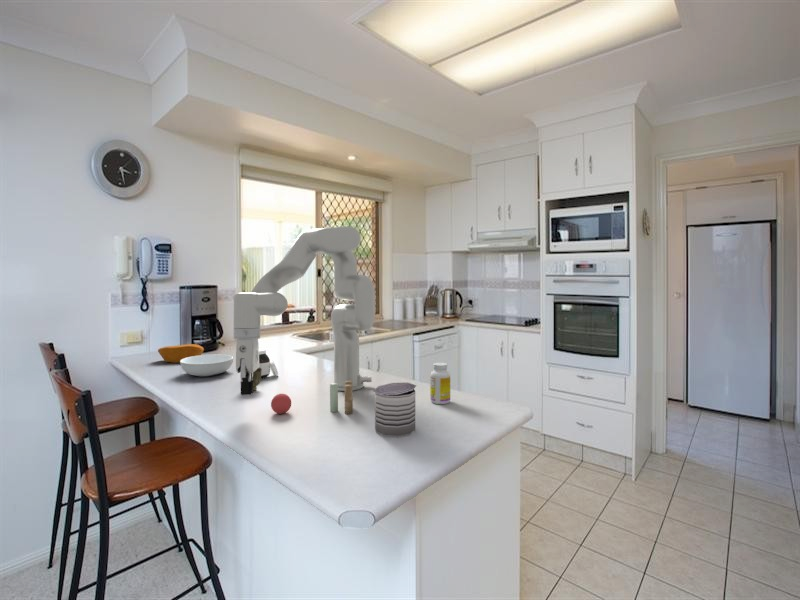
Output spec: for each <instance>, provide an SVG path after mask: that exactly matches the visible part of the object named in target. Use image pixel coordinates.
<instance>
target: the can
mask: <svg viewBox="0 0 800 600" xmlns="http://www.w3.org/2000/svg"><path fill="white" fill-rule="evenodd" d="M416 387H417V384H413V383H410V382H391V383H386V384H382V385H378V386H377V387H376V388H375V389H374V390H373V392H374V430H375V433H376V434H377V435H380V436H383V437H387V438H401V437H407V436H411V435H412V434H413V433H415V432H416V390H415V389H416Z"/></svg>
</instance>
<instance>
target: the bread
mask: <svg viewBox="0 0 800 600" xmlns="http://www.w3.org/2000/svg"><path fill="white" fill-rule="evenodd" d="M204 350H205V348H204V347H203V346H201V345H199V344H196V343H192V344H190V343H188V344H178V345H170V346H163V347H160V348H158V349H157V352H158V354H159V355H160V356H161V357H162V359H163V360H164V362H166V363H172V364H173V363H174V364H180V360H182V359H184V358H187V357H192V356H199V355H203V353H204Z"/></svg>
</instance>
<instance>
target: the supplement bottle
mask: <svg viewBox="0 0 800 600" xmlns="http://www.w3.org/2000/svg"><path fill="white" fill-rule="evenodd" d="M432 368H433V371H432V370H431V372H430V375H429V376H430V385H429V386H430V388H429V389H430V390H429V391H430V395H429V397H430V402H431V404H437V405H447V404H449V403H450V402H451V373H450V372H449V371H448V370H447V369H448V363H446V362H433V365H432Z"/></svg>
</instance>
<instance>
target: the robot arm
mask: <svg viewBox="0 0 800 600" xmlns="http://www.w3.org/2000/svg"><path fill="white" fill-rule="evenodd" d="M360 243H361V234H360V232H359V230H357V228H355V227H354V226H339V227H322V228H312V229H306V230H303V231H302V232H301V233H300V234H299V235H298V236H297V238H296V239H295V241H294V242H293V243H292V245H291V246H290V248H289V249H288V251H287V252H286V253H285V255H284V257H283V258H282V260H280V262H278V263H277V264H276V265H275V266H274V267H272V268H271V269H270V270H269V271H267V272H266V273H265V274H264V275H263V276H262V277H261V278H260V279H259V280H258V282H257V283H255V286H254V287H253V289H251V291H250V292H236V293H235V294H234V296H233V339H234V340H236V346H235V371H236V373H238V374H240V375H239V376H240V377H239V378H240V395H241V396H250V395H252V394H253V393H254V391H253V372H254V371H255V370H257V369H258V368H259V349H260V347H259V339H261V316H268V317H278V316H280V315H282V314H283V313H285V312H286V311H287V308H288V299H287V298H286V297H285V295H284V294H282V293H281V292H279V291H280V290H281V289H282V288H284V287H285V286H287V285H289V284H291V283H294V282H296V281H298V280H300V279H301V278H303V277H304V275H305V274H306V272H307V271H308V269H309V267H310V266H311V265H312V264H313V262H314V260H315V259H316V257H317V256H318V255H325V254H327V255H329V256H330V258H331V260H332V261H333V269H334V272H333V273H334V279H333V280H334V281H333V282H334V294H335V297H336V298H338V300H342V301H348V302H349V301H351V302H352V301H353V302H354V303H353V304H352V303H351V304H350V303H342V304H338V305H336V306H335V307H334V308H333V309H332V311H331V315H330V320H331V326H332V330H333V363H334V364H333V367H334V368H333V369H334V370H333V371H334V372H333V374H334V375H333V377H334V379H333V382H332V383H337V384H338V392H345V381H352V389H353V391H358V390H361V389H362V388H364V386H365V385H364V383H372V380H373V378H372V376H368V375H367V376H362V375H361V373H360V338H359V335H358V332H359V331H360V332H366V331H369V330H370V329H372V327H373V326H374V323H375V318H376V309H375V308H376V298H375V297H376V292H375V286H374V283H373V280H372V279H371V278H370V277H368V276H366V275H364V274H358V266H357V259H356V256H355V254H354V252H353V251H354V250H356V249H357V248H358V247H359V246H360Z"/></svg>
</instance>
